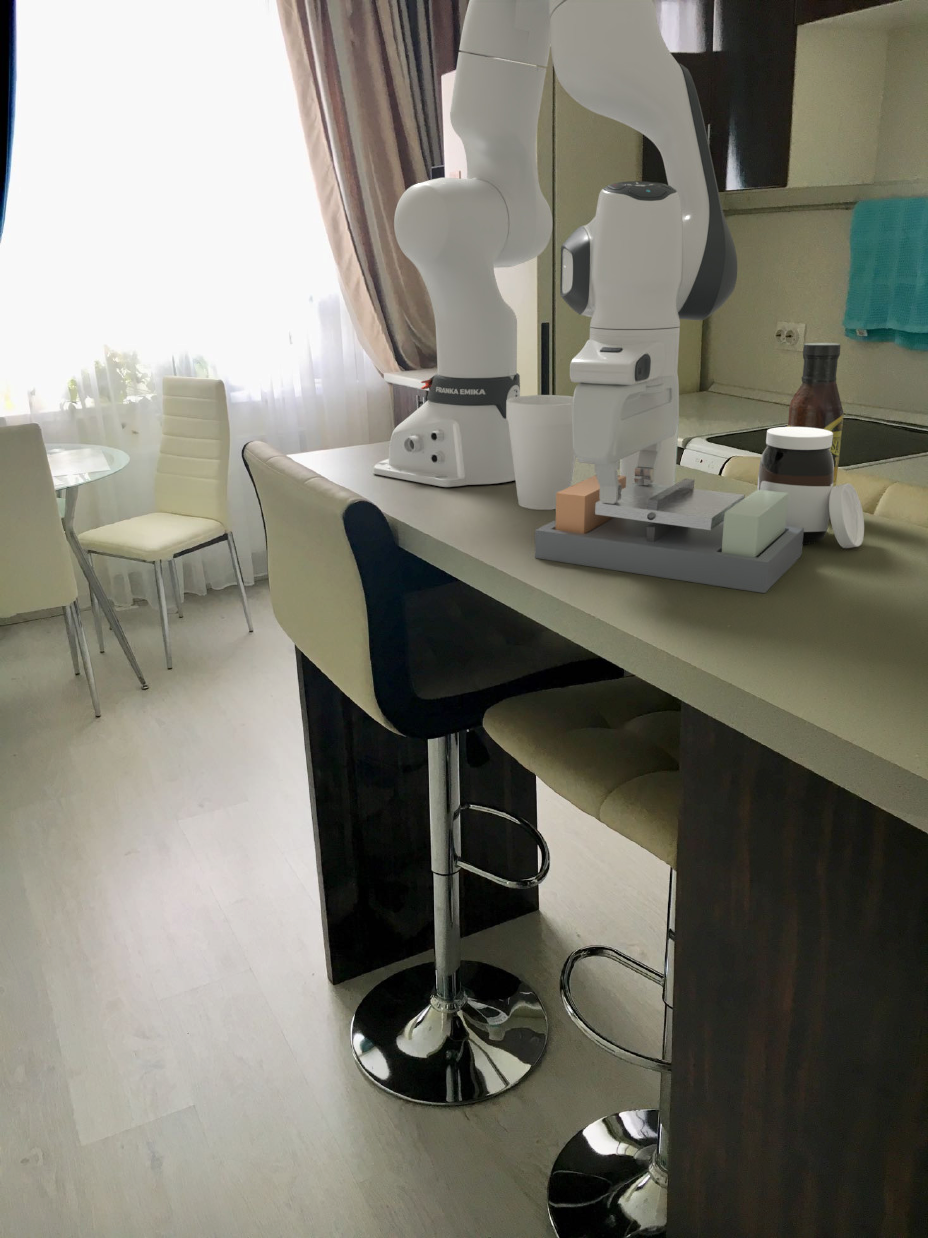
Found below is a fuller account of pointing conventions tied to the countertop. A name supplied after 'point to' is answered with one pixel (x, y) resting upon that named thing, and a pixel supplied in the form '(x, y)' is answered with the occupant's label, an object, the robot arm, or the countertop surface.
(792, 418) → the sauce bottle
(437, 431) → the robot arm
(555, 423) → the foam cup
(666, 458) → the can
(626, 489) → the rocker
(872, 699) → the countertop surface
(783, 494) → the button sage
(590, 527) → the button terracotta
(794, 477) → the spread jar
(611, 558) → the grey rectangular tray
